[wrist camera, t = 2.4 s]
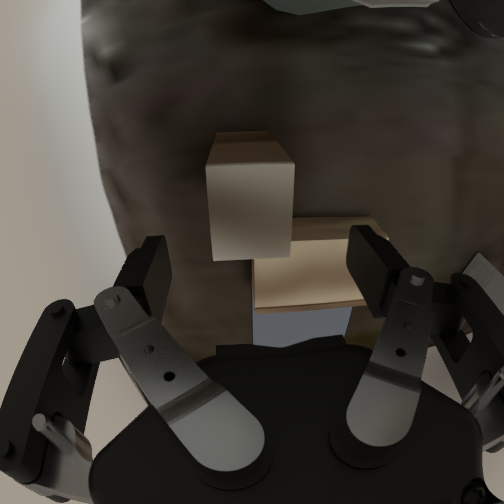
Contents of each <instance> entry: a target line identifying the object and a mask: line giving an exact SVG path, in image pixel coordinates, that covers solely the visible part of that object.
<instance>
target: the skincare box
mask: <svg viewBox="0 0 504 504" xmlns="http://www.w3.org/2000/svg"><path fill="white" fill-rule="evenodd" d="M463 274H466V275H469V276H471V277H472V278H474V279H475V280H476V281H477V282H478V284H479V285H480V286H481V287H482V288H483V290H484V291H485V292H486V293H487V295H488V296H489V297H490V298H491V300H492V301H493V302H494V303H495V305H496V306H497V307H498V309H499V310H500V311H501V313H502V314H503V315H504V276H503V275H502V274H501V273H500V272H499V271H498V270H497V269H496V268H495V267H494V266H493V265H492V264H491V263H490V262H488V261H487V260H486V259H485V258H484V257H483V256H482V255H481V254H480V253H477V254H476V256H475V257H474V258H473V260H472V261H471V262H470V264H469V265H468V266H467V268H466V269H465V270H464V271H463Z"/></svg>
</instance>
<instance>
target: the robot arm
mask: <svg viewBox="0 0 504 504" xmlns="http://www.w3.org/2000/svg"><path fill="white" fill-rule="evenodd" d="M450 1H451V2H452V4H453V6H454V8H455V10H456V11H457V12H458V14H459V15H460V17H461V18H462V19H463V20H464V22H465V23H466V24H467V25H468V26H469V27H470V28H471V29H472V30H474V31H475V32H476V33H478V34H479V35H481V36H484V37H486V38H498V39H504V0H450ZM346 265H347V269H348V271H349V273H350V274H351V276H352V278H353V280H354V282H355V283H356V285H357V287H358V289H359V291H360V292H361V294H362V296H363V298H364V300H365V302H366V304H367V305H368V307H369V309H370V311H371V313H372V315H373V317H374V319H375V318H382V317H385V318H386V319H385V321H384V324H383V327H382V329H381V332H380V335H379V337H378V340H377V343H376V345H375V348H374V350H371V349H369V348H366V347H363V346H360V345H356V344H350V343H346V342H345V340H344V337H343V334H341V335H333V336H325V337H317V338H311V339H308V340H305V341H302V342H299V343H296V344H293V345H290V346H286V347H271V346H262V345H254V344H237V345H216V355H214V356H210V357H207V358H205V359H202V360H200V361H198V362H196V363H195V362H194V361H193V360H192V359H191V358H190V357H189V355H188V354H187V353H186V352H185V351H184V350H183V349H182V348H181V346H180V345H179V344H178V343H177V342H176V341H175V340H174V338H173V337H172V336H171V335H170V334H169V332H168V331H167V330H166V329H165V328H164V327H163V325H162V324H161V321H162V317H163V313H164V308H165V304H166V300H167V296H168V292H169V288H170V284H171V279H172V271H171V264H170V259H169V254H168V249H167V244H166V239H165V236H164V235H159V236H147V237H146V239H145V241H144V243H143V245H142V247H141V248H136V249H135V250H134V251H132V252H131V253H130V254H129V255H128V257H127V259H126V261H125V264H124V265H123V267H122V270H121V271H120V273H119V275H118V277H117V279H116V281H115V283H114V285H113V287H111V288H108V289H105V290H103V291H102V292H100V293H99V294H98V295H97V296H96V298H95V300H94V305H91V306H87V307H83V308H79V309H75V306H74V304H73V303H72V302H71V301H70V300H67V299H61V300H57V301H55V302H53V303H51V304H50V305H48V306H47V307H46V308H45V310H44V311H43V313H42V315H41V317H40V319H39V320H38V322H37V325H36V327H35V328H34V330H33V332H32V334H31V336H30V338H29V340H28V342H27V345H26V347H25V349H24V351H23V353H22V355H21V358H20V360H19V362H18V365H17V367H16V369H15V371H14V374H13V376H12V379H11V381H10V384H9V386H8V389H7V391H6V394H5V397H4V399H3V402H2V405H1V408H0V470H1V471H2V472H4V473H5V474H7V475H8V476H10V477H12V478H13V479H14V480H15V481H16V482H18V483H20V484H21V485H23V486H25V487H26V488H28V489H30V490H32V491H34V492H35V493H37V494H39V495H42V496H45V497H47V498H49V499H51V500H53V501H55V502H60V503H64V502H67V501H69V500H70V499H72V500H76V501H80V502H84V503H89V504H504V502H503V501H502V500H500V499H498V498H497V497H496V496H494V495H493V494H492V493H491V492H490V491H489V489H488V488H487V486H486V484H485V481H484V477H483V467H482V452H483V451H487V452H490V453H495V452H497V451H499V450H500V449H502V448H503V447H504V315H503V314H502V313H501V311H500V310H499V309H498V307H497V306H496V305H495V303H494V302H493V301H492V300H491V298H490V297H489V296H488V295H487V293H486V292H485V291H484V290H483V288H482V287H481V286H480V285H479V284H478V282H477V281H476V280H475V279H474V278H472V277H471V276H469V275H466V274H463V273H455V274H453V275H452V276H451V278H450V281H449V283H448V284H447V283H439V282H434V280H433V277H432V276H431V275H430V274H429V273H428V272H427V271H425V270H423V269H420V268H417V267H410V266H409V264H408V263H407V262H406V261H405V260H404V258H403V257H402V256H401V255H400V254H399V253H398V251H397V250H396V249H395V248H394V247H393V245H392V244H391V243H390V242H389V241H388V240H387V239H385V238H384V237H382V236H380V235H377V234H376V233H375V231H374V230H373V229H372V228H371V227H370V226H369V225H352V226H351V228H350V232H349V239H348V246H347V253H346ZM465 320H466V321H467V322H468V324H469V325H470V327H471V329H472V332H473V338H472V341H471V343H470V342H469V340H468V338H467V337H466V335H465V333H464V332H463V330H462V329H461V328H462V326H463V324H464V322H465ZM430 336H431V338H432V340H433V342H434V344H435V346H436V347H437V349H438V351H439V353H440V355H441V357H442V359H443V361H444V363H445V365H446V367H447V369H448V371H449V373H450V375H451V377H452V379H453V381H454V384H455V386H456V388H457V390H458V392H459V394H460V397H461V399H462V403H461V404H459V403H457V402H456V401H454V400H453V399H451V398H449V397H448V396H446V395H444V394H443V393H441V392H439V391H438V390H436V389H435V388H433V387H431V386H429V385H428V384H427V383H425V382H423V381H422V380H421V377H422V373H423V368H424V364H425V359H426V354H427V349H428V344H429V339H430ZM64 357H65V360H64ZM115 358H119V359H120V361H121V363H122V365H123V366H124V368H125V370H126V371H127V373H128V375H129V376H130V378H131V380H132V381H133V383H134V384H135V386H136V388H137V389H138V391H139V393H140V394H141V396H142V397H143V399H144V401H145V402H146V404H147V405H148V407H147V408H146V409H145V410H144V411H143V412H141V414H139V415H138V416H137V417H136V418H135V419H134V420H133V421H132V422H131V423H130V424H129V425H128V426H127V427H126V428H124V429H123V430H122V431H121V432H120V433H119V434H118V435H117V436H116V437H115V438H114V439H113V440H112V441H111V442H109V443H108V444H107V445H106V446H105V447H104V448H103V449H102V450H101V451H100V452H99V453H98V454H97V455H96V457H95V458H94V460H93V459H92V448H91V444H90V442H89V440H88V439H87V438H86V437H85V436H84V431H85V426H86V420H87V416H88V410H89V406H90V401H91V396H92V393H93V388H94V384H95V380H96V376H97V372H98V368H99V364H100V362H101V361H106V360H110V359H115ZM63 360H64V363H63ZM62 364H63V366H62Z"/></svg>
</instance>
